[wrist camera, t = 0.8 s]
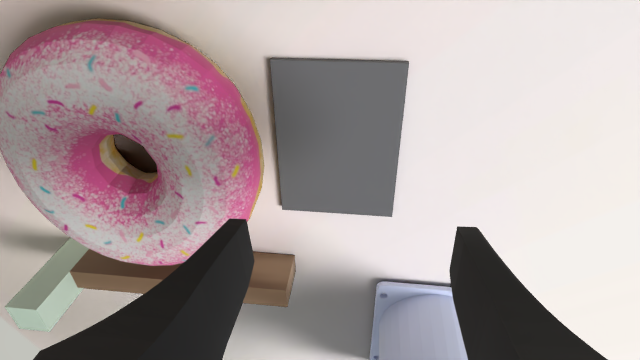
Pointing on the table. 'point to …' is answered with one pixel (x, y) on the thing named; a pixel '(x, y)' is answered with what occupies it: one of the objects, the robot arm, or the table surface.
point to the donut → (135, 123)
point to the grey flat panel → (338, 133)
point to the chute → (125, 282)
